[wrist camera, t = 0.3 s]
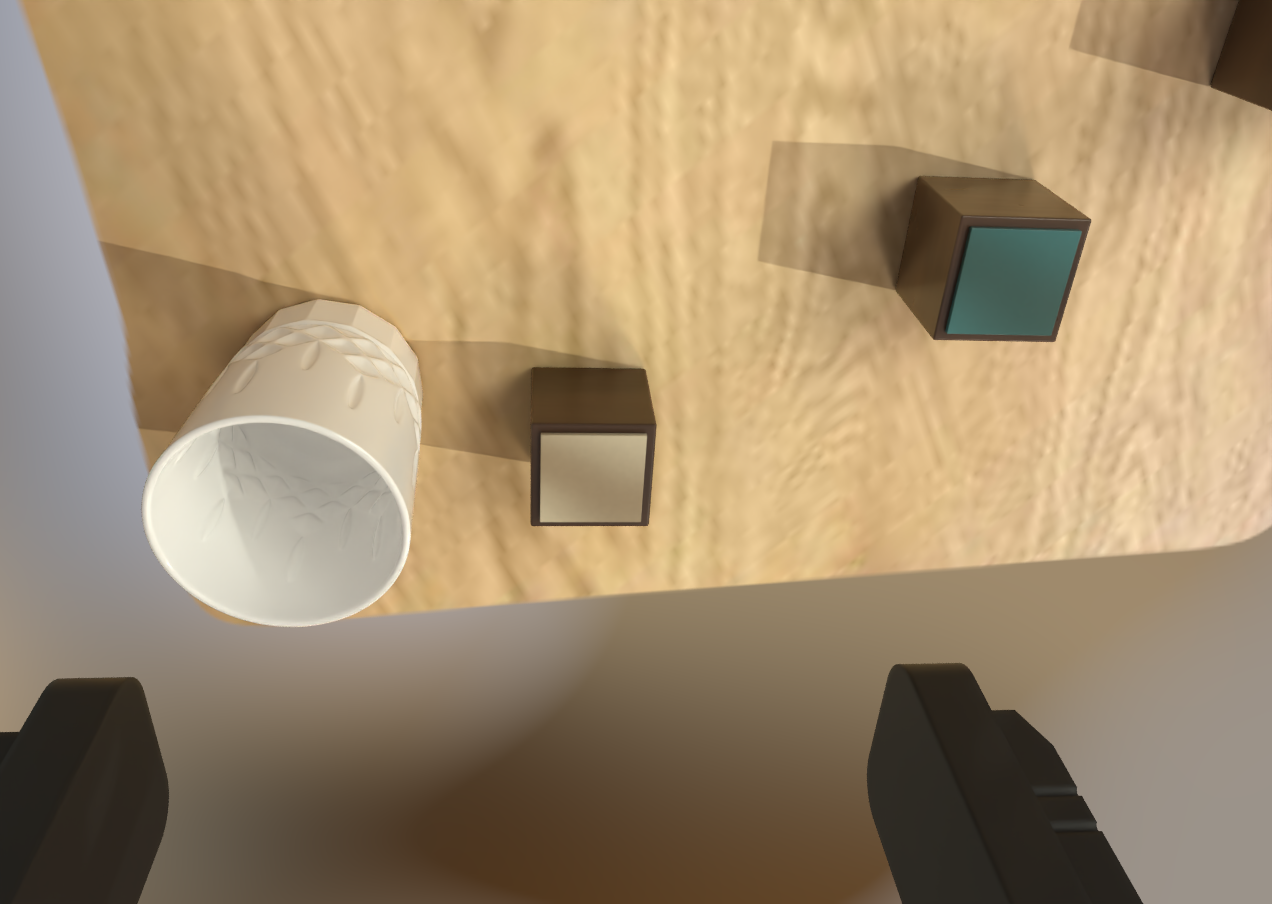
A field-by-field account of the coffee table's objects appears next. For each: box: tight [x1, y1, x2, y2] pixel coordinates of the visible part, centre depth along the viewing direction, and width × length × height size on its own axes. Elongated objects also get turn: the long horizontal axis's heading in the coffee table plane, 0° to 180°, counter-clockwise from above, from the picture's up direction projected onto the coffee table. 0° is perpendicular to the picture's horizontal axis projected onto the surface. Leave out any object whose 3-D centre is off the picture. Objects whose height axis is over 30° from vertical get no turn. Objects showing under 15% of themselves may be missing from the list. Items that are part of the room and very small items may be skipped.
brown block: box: [531, 367, 656, 526], centre depth 39 cm, size 4×4×5 cm
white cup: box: [141, 299, 423, 627], centre depth 35 cm, size 8×8×10 cm
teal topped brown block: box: [896, 176, 1091, 342], centre depth 36 cm, size 4×4×5 cm
